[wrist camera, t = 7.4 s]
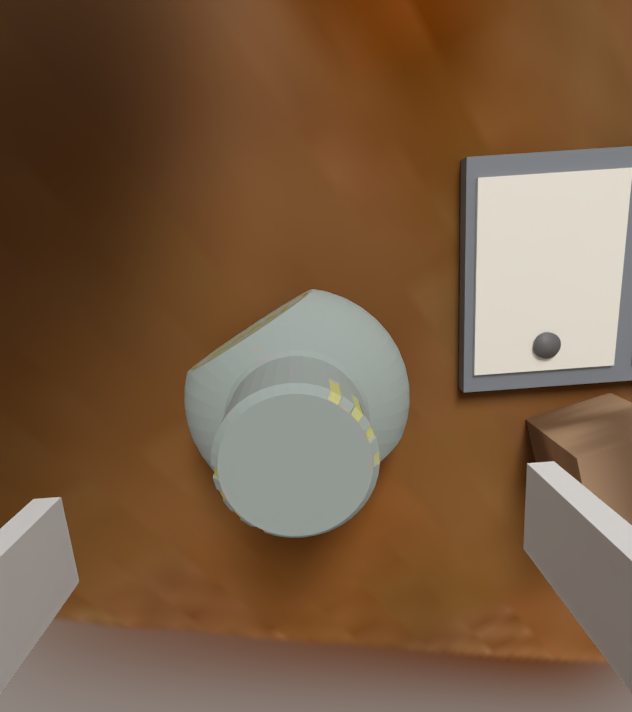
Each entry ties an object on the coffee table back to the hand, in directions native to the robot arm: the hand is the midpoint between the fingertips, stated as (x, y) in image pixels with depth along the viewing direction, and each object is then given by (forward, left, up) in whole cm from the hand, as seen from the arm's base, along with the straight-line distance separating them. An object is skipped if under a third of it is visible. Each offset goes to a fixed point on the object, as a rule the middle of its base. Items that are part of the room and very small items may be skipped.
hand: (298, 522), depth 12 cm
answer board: (+22, +5, -13) cm, 26 cm away
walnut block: (+16, -5, -13) cm, 21 cm away
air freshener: (0, 0, -13) cm, 13 cm away
